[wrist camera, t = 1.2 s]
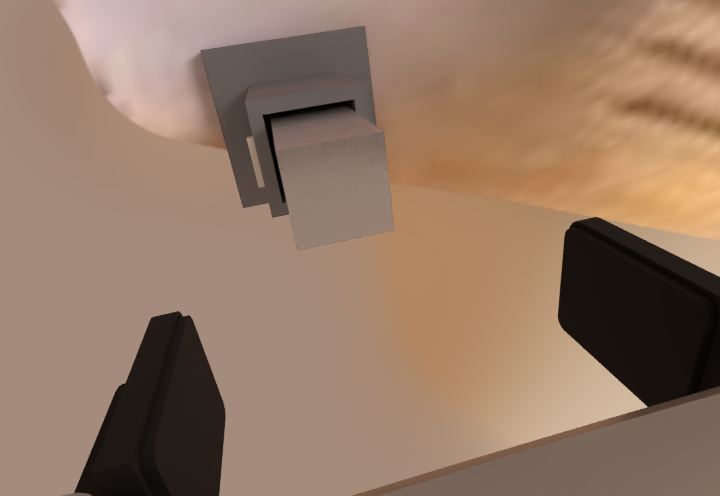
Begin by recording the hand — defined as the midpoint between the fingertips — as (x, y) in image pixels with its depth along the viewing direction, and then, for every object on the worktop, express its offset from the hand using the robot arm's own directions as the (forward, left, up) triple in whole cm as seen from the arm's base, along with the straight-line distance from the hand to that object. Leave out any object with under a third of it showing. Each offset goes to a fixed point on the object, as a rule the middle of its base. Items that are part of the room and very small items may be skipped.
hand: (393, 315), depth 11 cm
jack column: (0, 0, -30) cm, 30 cm away
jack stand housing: (0, 0, -31) cm, 31 cm away
